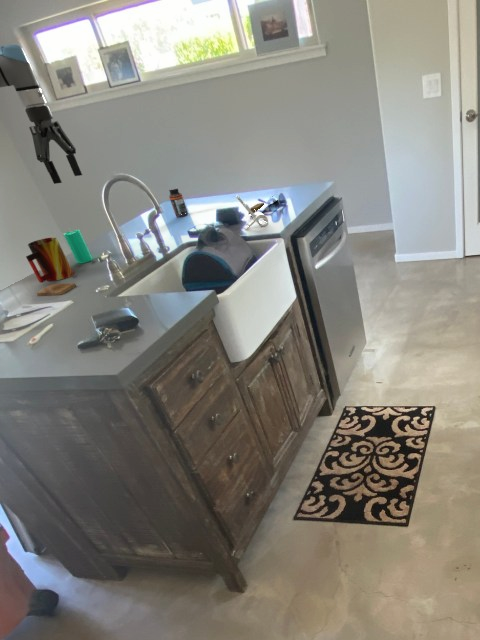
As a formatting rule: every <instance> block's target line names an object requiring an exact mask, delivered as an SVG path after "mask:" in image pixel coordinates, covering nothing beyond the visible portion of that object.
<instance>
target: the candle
mask: <svg viewBox="0 0 480 640" xmlns="http://www.w3.org/2000/svg"><path fill="white" fill-rule="evenodd" d="M69 230H70V231H66V232H65V233H63V236H64V239H65V241H66V242H67V245H68V247H69V249H70V251H71V253H72V255H73V257H74V259H75V261H76V263H77V264H85V263H89V262H92V261H93V256H92V254H91V252H90V249H89V247H88V245H87V244H86V241H85V239H84V237H83V235H82V233H81V229H75V230H71V229H69Z"/></svg>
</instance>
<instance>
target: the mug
mask: <svg viewBox="0 0 480 640" xmlns="http://www.w3.org/2000/svg"><path fill="white" fill-rule="evenodd" d="M27 246H28V248H29V250H30V252H31V254H28V255H26V256H25V258H26V260H27V261H28V264H29V265H30V267H31V269H32V271H33V273H34V275H35V277H36V278H37V281H38V282H39V283H40V284H42V283H45V282H46V281H47V282H55V281H61V280H64V279H68V278H70V277H72V276H73V275H74V274H75V273H74V270H73V269H72V266H71V265H70V262H69V261H68V258H67V257H66V255H65V252H64V250H63V248H62V246H61V244H60V242H59V241H58V238H57V237H55V236H54V237H45V238H40V239H37V240H34V241H31V242H29V243H28V244H27ZM34 260H35V261H36V263H37V265H38V267H39V268H40V270H41V273H42V274H43V275H41V273H40V272H39V270H38V268H37V266H36V264H35V262H34Z"/></svg>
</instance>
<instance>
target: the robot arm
mask: <svg viewBox="0 0 480 640" xmlns="http://www.w3.org/2000/svg"><path fill="white" fill-rule="evenodd" d="M11 86H13V88H14V90H15V91H16V94H17V96H18V99H19V100H20V103H21V106H22V107H25V111H24V112H25V113H26V115H27V118H28V120H29V122H30V123H33V124H34V125H31V126H29V128H28V129H29V131H30V133H31V136H32V141H33V142H32V143H33V147H34V151H35V157H36V160H37V161H39V162H40V163H43V164H44V166H45V168H46V171H47V172H48V174H49V176H50V178H51V180H52V183H53V184H61V183H63V182H62V180H61V177H60V175H59V173H58V170H57V169H56V167H55V164H54V161H53V160H51V159H50V158H51V157H50V156H51V153H50V142H51V141H54V142H55V143H56V144H57V145H58V146H59V147H60V149H61V150H63V152H65V157H66V159H67V162H68V164H69V166H70V168H71V171H72V173H73V175H74V177H78V176H83V173H82V170H81V168H80V166H79V163H78V161H77V159H76V156H75V154H77V152H76V151H77V149H76V147H75V145H74V144H73V142H72V141H71V140H70V138H69V137H68V135H67V134H66V133H65V131H64V130H63V128H62V126H61V124H60V123H59V121H57V120H55V121H52V120H53V119H54V116H53V113H52V111H51V109H50V107H49V106H48V105H46V104H47V100H46V98H45V96H44V93H43V91H42V89H41V86H40V84H39V81H38V79H37V77H36V74H35V72H34V70H33V67H32V64H31V62H30V61H29V58H28V56H27V53H26V52H25V50H24V48H23V47H22V46H21V45H19V44H7V45H1V46H0V88H5V87H11Z"/></svg>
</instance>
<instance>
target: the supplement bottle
mask: <svg viewBox="0 0 480 640" xmlns="http://www.w3.org/2000/svg"><path fill="white" fill-rule="evenodd" d="M168 191H169V195H168V196H169V200H170V204H171V205H172V209H173V212H174V215H175V217H176V218H182V217H186V216H188V214H189V212H188V208H187V205H186V203H185V199H184V197H183V196H184V195H183V194H182V193H181V192H179V188H178V187H172V188H169V189H168ZM185 213H186V214H185ZM181 214H182V215H181Z"/></svg>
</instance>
